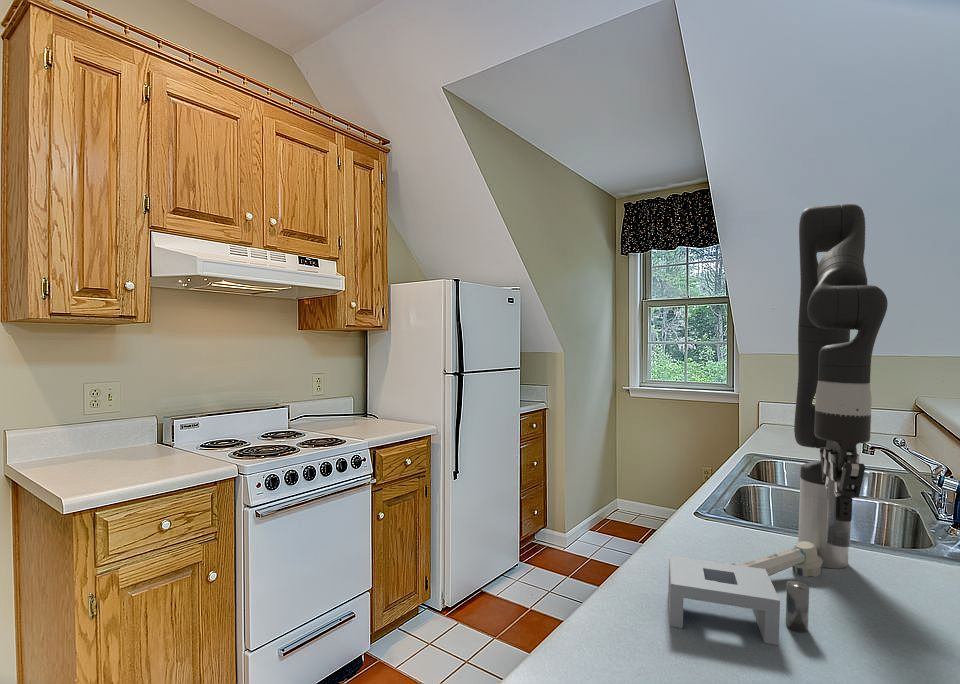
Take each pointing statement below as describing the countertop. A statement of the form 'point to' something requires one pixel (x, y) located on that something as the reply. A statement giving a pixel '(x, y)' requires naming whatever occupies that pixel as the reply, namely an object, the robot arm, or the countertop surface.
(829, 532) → the tall pin
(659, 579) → the countertop surface
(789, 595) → the short pin
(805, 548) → the beige toy mallet
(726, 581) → the bridge
